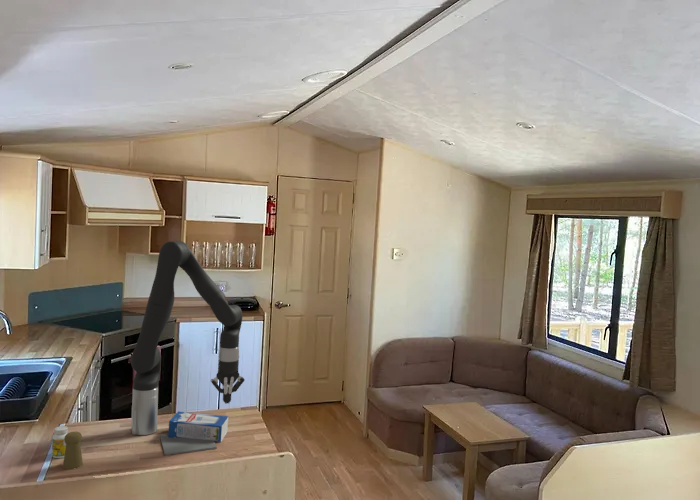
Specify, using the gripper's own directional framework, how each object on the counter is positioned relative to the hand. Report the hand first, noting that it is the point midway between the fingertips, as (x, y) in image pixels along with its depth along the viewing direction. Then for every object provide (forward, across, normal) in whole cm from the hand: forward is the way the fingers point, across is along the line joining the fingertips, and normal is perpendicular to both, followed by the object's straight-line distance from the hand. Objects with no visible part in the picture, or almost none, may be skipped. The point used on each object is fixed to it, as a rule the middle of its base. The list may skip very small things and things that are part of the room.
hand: (226, 402), depth 210 cm
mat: (+14, +14, 0) cm, 20 cm away
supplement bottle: (+14, +56, -3) cm, 58 cm away
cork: (+14, +52, +6) cm, 54 cm away
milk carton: (+11, 0, -1) cm, 11 cm away
